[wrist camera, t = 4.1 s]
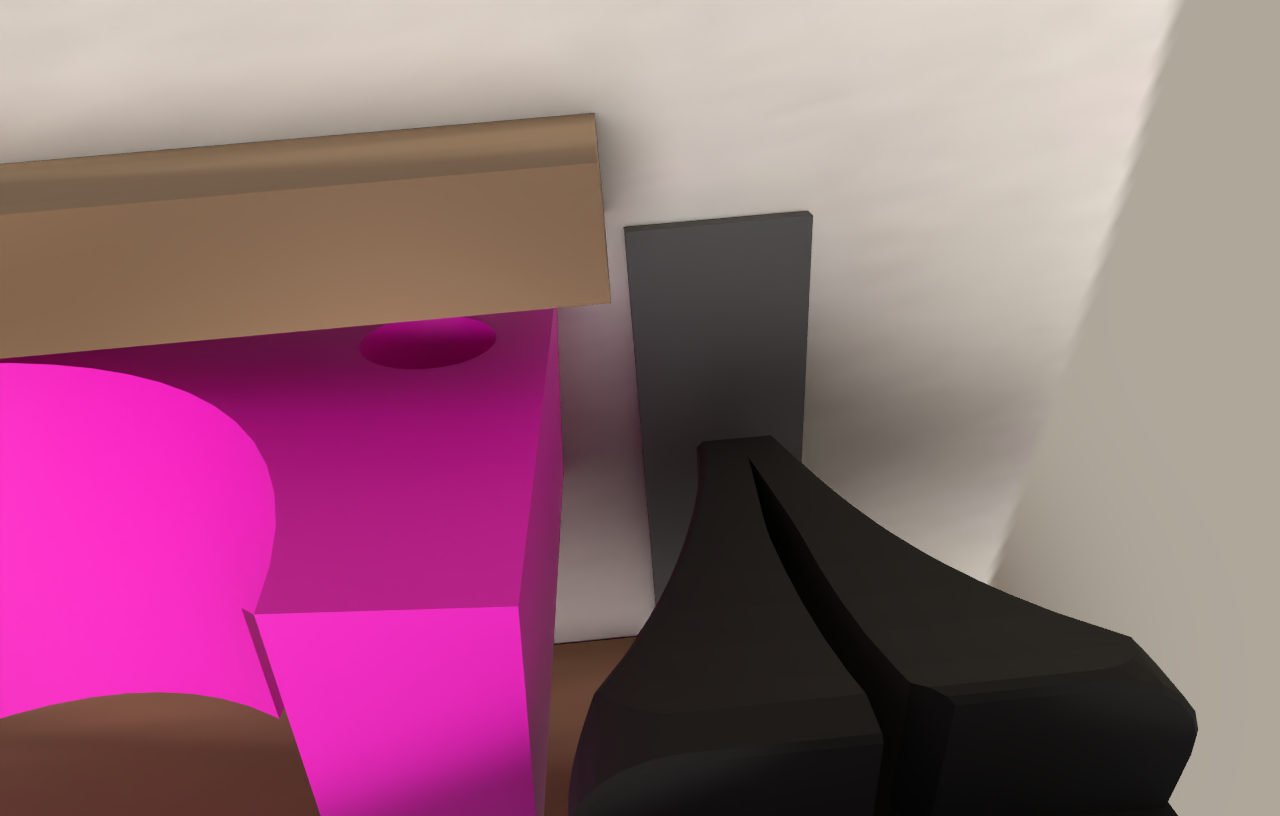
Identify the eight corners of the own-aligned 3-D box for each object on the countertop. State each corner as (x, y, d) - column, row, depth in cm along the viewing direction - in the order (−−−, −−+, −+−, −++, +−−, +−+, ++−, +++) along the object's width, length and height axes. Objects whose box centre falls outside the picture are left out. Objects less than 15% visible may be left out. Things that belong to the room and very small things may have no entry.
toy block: (-186, 586, 14) (-846, 1075, 8) (-401, 288, 11) (-1799, 677, 5) (567, 566, 15) (550, 986, 9) (556, 286, 12) (518, 606, 6)
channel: (649, 681, 17) (665, 857, 13) (48, 742, 16) (-97, 938, 13) (593, 113, 11) (597, 162, 7) (-363, 195, 10) (-845, 288, 7)
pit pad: (790, 613, 16) (793, 623, 16) (657, 626, 16) (658, 637, 16) (807, 210, 12) (812, 215, 11) (623, 227, 11) (624, 232, 11)
